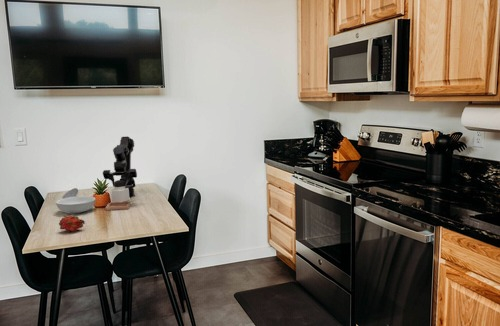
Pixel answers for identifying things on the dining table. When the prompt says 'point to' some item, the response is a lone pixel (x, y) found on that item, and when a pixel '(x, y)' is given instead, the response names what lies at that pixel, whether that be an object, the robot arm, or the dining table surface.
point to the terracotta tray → (118, 205)
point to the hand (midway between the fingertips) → (119, 185)
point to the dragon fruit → (71, 223)
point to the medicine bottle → (120, 192)
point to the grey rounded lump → (71, 193)
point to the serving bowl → (75, 204)
